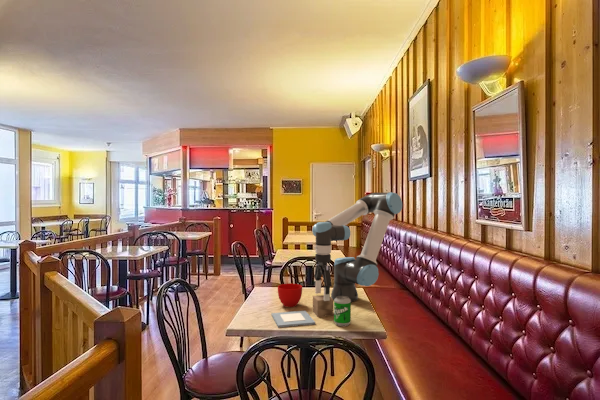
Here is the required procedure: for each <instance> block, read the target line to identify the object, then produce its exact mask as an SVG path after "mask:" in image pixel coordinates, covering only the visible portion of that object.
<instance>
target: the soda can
mask: <svg viewBox="0 0 600 400" xmlns="http://www.w3.org/2000/svg"><path fill="white" fill-rule="evenodd" d="M351 311H352V302H351V300H350V299H349V297H346V296H337V297H336V298H335V299H334V300H333V322H334V324H335V325H336V326H338V327H347V326H349V325H350V324H351V323H352V321H351V319H352V318H351V314H352V312H351Z"/></svg>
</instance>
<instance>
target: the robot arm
mask: <svg viewBox="0 0 600 400" xmlns="http://www.w3.org/2000/svg"><path fill="white" fill-rule="evenodd" d="M402 210H403V201H402V198H401V196H400V195H399V194H398V193H396V192H392V191H390V192H371V193H370V194H367V195H365V196H363V197H361V198H360V199H358V200H356V202H355V203H354V204H352V205H351V206H349V207H347V208H346V209H344V210H343V211H341V212H339V213H337V214H336V215H334V216H332V217H330V218H329V219H327V220H326V221H319V222H316V223H314V225H313V226H312V229H311V231H312V235H313V236H314V237H315V247H314V249H315V259H314V261H315V262H316V264H315V265H316V266H315V271H314V275H313V277H314V280H315V285H314V286H315V289H314V290H315V291H314V292H315V293H314V294H316V295H317V294H318V295H319V294H322V280H323V284H324V285H323V295H324V301H330V297H331V298H332V299H333V301H334V299H335V298H336V297H337V296H346V297H349V299H350V300H351V303H353V302H357V301H358V300H359V293H358V290H357V287H356V285H359V286H361V287H362V286H363V287H370V286H372V285H374V284H375V283H376V282H377V281H378V278H379V275H380V273H379V268H378V262H377V258H378V255H379V252H380V249H381V247H382V244H383V241H384V238H385V234H386V232H387V229H388V228H389V227H388V226H389V224H390V221H392V220H393V219H394V218H395V215H397V214H399V213H400V212H401V211H402ZM371 213H373V214H374V217H373V219H372V222H371V225H370V228H369V231H368V234H367V236H366V239H365V242H364V245H363V247H362V248H361V249H362V250H361V253H360V254H359V255H357V256H356V258H355V257H353V256H349V257H348V256H347V257H346V256H344V257H337V258H335V259H334V263H333V284H332V277H331V276H332V275H331V269H330V268H331V266H330V265H328V263H331V261H332V260H331V258H332V256H331V253H332V242H333V241H334V242H335V241H341V242H342V241H346V240H348V239H350V238H351V229H350V227H349V226H348V224H350V223H351V222H354V221H355V220H356V219H358V218H361V217H362V216H367V215H368V214H371ZM332 286H333V288H332V290H331V287H332Z"/></svg>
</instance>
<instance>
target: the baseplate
mask: <svg viewBox="0 0 600 400" xmlns="http://www.w3.org/2000/svg"><path fill="white" fill-rule="evenodd" d="M271 317H272V320H274V323H275V324H276V326H277V328H279V329H280V327H281V328H290V327H289V326H292V327H299V326H298V325H303V326H314V325H316V321H315V320H314V319H313V318H312V316H310V314H309V313H308V311H306V310H295V311H284V312H283V311H282V312H281V311H280V312H272V313H271Z"/></svg>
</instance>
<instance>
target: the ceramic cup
mask: <svg viewBox="0 0 600 400" xmlns="http://www.w3.org/2000/svg"><path fill="white" fill-rule="evenodd" d="M302 293H303V285H301V284H298V283H290V282H289V283H281V284H279V285H277V295H278V299H279V301H280V303H281V304H282V305H283V306H284V307H287V308H294V307H296V306H297V305H298V304H299V302H300V301H301V299H302V295H303V294H302Z"/></svg>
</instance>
